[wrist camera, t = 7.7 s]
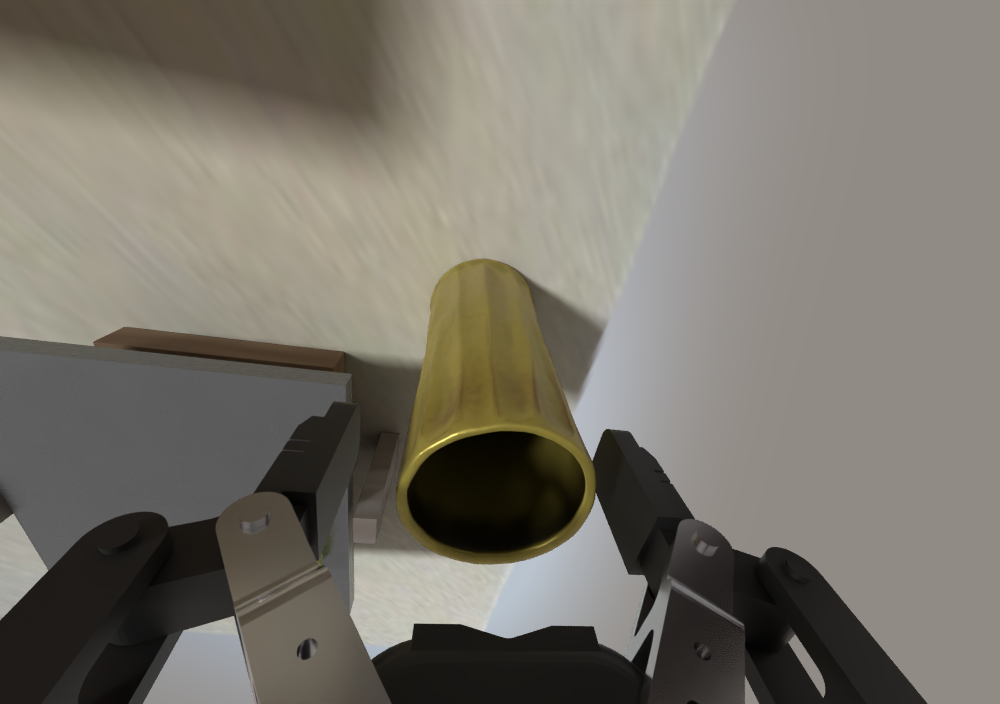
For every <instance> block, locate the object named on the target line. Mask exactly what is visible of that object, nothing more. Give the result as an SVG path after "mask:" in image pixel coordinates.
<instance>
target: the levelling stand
mask: <svg viewBox="0 0 1000 704" xmlns="http://www.w3.org/2000/svg"><path fill="white" fill-rule="evenodd" d="M93 343H94V346H95V347H104V348H113V349H123V350H132V351H141V352H151V353H160V354H169V355H179V356H188V357H197V358H207V359H216V360H226V361H235V362H244V363H254V364H263V365H272V366H282V367H291V368H300V369H310V370H319V371H328V372H338V373H344V352H339V351H330V350H322V349H313V348H304V347H296V346H287V345H278V344H269V343H261V342H252V341H243V340H235V339H226V338H217V337H208V336H200V335H191V334H182V333H174V332H165V331H156V330H147V329H139V328H130V327H123V328H121V329H119V330H117V331H115V332H113V333H111V334H109V335H107V336H105V337H103V338H100V339H98V340H96V341H94V342H93ZM398 440H399V434H395V433H384V432H381V435H380V438H379V441H378V444H377V447H376V450H375V453H374V456H373V459H372V462H371V465H370V468H369V471H368V474H367V477H366V481H365V484H364V487H363V490H362V493H361V496H360V499H359V502H358V505H357V508H356V511H355V514H354V517H353V543H366V544H376V541H377V537H378V533H379V529H380V525H381V520H382V516H383V512H384V508H385V504H386V500H387V496H388V492H389V488H390V484H391V480H392V476H393V472H394V468H395V464H396V460H397V456H398ZM12 514H13V512H12V510H11V508H10V507H9V505H8V503H7V502H6V500H5V499H4V497H3V495H2V494H1V492H0V523H1V522H3V521H4V520H5V519H6V518H8V517H9V516H10V515H12Z"/></svg>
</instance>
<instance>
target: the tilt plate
mask: <svg viewBox="0 0 1000 704" xmlns="http://www.w3.org/2000/svg"><path fill="white" fill-rule="evenodd" d="M334 401H340V402H350V403H352V374H347V373H338V372H328V371H319V370H310V369H300V368H291V367H282V366H272V365H263V364H254V363H244V362H235V361H226V360H216V359H207V358H197V357H188V356H179V355H169V354H160V353H151V352H141V351H132V350H123V349H113V348H104V347H95V346H85V345H76V344H67V343H57V342H48V341H39V340H29V339H20V338H11V337H1V336H0V492H1V494H2V495H3V497H4V499H5V500H6V502H7V503H8V505H9V507H10V508H11V510H12V512H13V513H14V515H15V516H16V518H17V520H18V521H19V523H20V525H21V526H22V528H23V529H24V531H25V533H26V534H27V536H28V538H29V539H30V541H31V543H32V544H33V546H34V547H35V549H36V551H37V552H38V554H39V556H40V557H41V559H42V560H43V562H44V564H45V565H46V567H47V569H48V570H50V569H51V568H52V567H53V566H54V565H55V564H56V563H57V561H58V560H59V559H60V558H61V557H62V556H63V555H64V554H65V553H66V552H67V551H68V550H69V549H70V548H71V547H72V546H73V545H74V544H75V543H76V542H77V541H78V540H79V539H80V538H81V537H82V536H83V535H85V534H86V533H87V532H89V531H90V530H92V529H93V528H95V527H96V526H98V525H100V524H102V523H104V522H106V521H108V520H111V519H113V518H115V517H118V516H121V515H125V514H129V513H134V512H145V511H146V512H154V513H158V514H160V515H162V516H163V517H165V518H166V520H167V522H168V526H169V527H170V526H176V525H181V524H186V523H192V522H197V521H202V520H207V519H212V518H215V517H218V516H220V515H221V513H222V512H223V511H224V510H225V509H226V508H227V507H228V506H230V505H231V504H232V503H234V502H235V501H237V500H239V499H241V498H243V497H245V496H248V495H251V494H253V493H254V491H255V490H256V488H257V487H258V485H259V484H260V482H261V481H262V479H263V478H264V476H265V475H266V473H267V472H268V470H269V469H270V467H271V466H272V464H273V463H274V461H275V460H276V458H277V457H278V455H279V454H280V452H282V450H283V448H284V446H285V445H286V443H287V442H288V441H289V438H290V437H291V435H292V434H293V432H294V431H295V429H296V428H297V426H298V425H300V424H301V423H303V422H304V421H306V420H307V419H308V418H310V417H311V416H321V417H324V416H325V415H326V413H327V411H328V410H329V408H330V406H331V404H332V403H333V402H334ZM317 563H318V564H319V566H320V567H321V566H323V565H325V566H326V567H327V568H328V570H329V572H330V573H331V575H332V577H333V580H334V582H335V584H336V586H337V588H338V590H339V592H340V595H341V597H342V599H343V601H344V603H345V605H346V607H347V610H348V612H349V614H350V612H351V608H352V604H353V601H354V543H353V472H352V475H351V478H350V480H349V483H348V486H347V488H346V491H345V493H344V496H343V499H342V501H341V504H340V507H339V509H338V512H337V515H336V517H335V520H334V523H333V525H332V528H331V530H330V533H329V536H328V538H327V541H326V544H325V546H324V549H323V552H322V554H321V557H320V560H319V561H317Z"/></svg>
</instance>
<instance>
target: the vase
mask: <svg viewBox="0 0 1000 704" xmlns="http://www.w3.org/2000/svg"><path fill="white" fill-rule="evenodd" d="M430 310H431V314H430V319H429V326H428V334H427V344H426V353H425V357H424V361H423V365H422V370H421V377H420V382H419V385H418V389H417V393H416V398H415V402H414V406H413V411H412V415H411V419H410V424H409V429H408V433H407V438H406V442H405V447H404V451H403V456H402V460H401V465H400V471H399V478H398V484H397V488H396V506H397V511H398V514H399V518H400V520H401V522H402V524H403V526H404V527H405V528H406V530H407V531H408V532H409V533H410V534H411V535H412V536H413V537H414V538H415V539H416V540H417V541H418V542H419V543H421V544H422V545H423V546H425V547H426V548H428V549H429V550H431V551H433V552H435V553H437V554H439V555H442V556H445V557H448V558H451V559H454V560H458V561H462V562H468V563H473V564H504V563H514V562H519V561H524V560H527V559H531V558H534V557H537V556H539V555H542V554H544V553H547V552H549V551H551V550H553V549H554V548H556V547H558V546H559V545H561V544H562V543H564V542H566V541H567V540H569V539H570V538H571V537H572V536H574V534H575V533H576V532H577V531H578V530H579V529H580V528H581V526H582V525H583V523H584V522H585V520H586V519H587V517H588V515H589V514H590V512H591V509H592V507H593V504H594V500H595V493H596V474H595V469H594V465H593V462H592V460H591V458H590V456H589V454H588V452H587V449H586V447H585V445H584V443H583V441H582V438H581V436H580V434H579V432H578V429H577V427H576V424H575V422H574V419H573V417H572V414H571V412H570V409H569V406H568V403H567V400H566V397H565V395H564V392H563V389H562V387H561V384H560V381H559V378H558V376H557V373H556V370H555V367H554V365H553V362H552V360H551V357H550V354H549V352H548V350H547V347H546V345H545V342H544V340H543V336H542V333H541V330H540V327H539V324H538V321H537V316H536V312H535V309H534V302H533V297H532V294H531V291H530V288H529V286H528V285H527V283H526V281H525V280H524V279H523V278H522V276H521V275H520V274H519V273H518V272H517V271H515V270H514V269H513V268H511V267H510V266H508V265H506V264H504V263H501V262H498V261H494V260H489V259H476V260H471V261H467V262H464V263H461V264H458V265H457V266H455V267H453V268H452V269H450V270H449V271H448V272H447V273H445V274H444V275H443V276H442V277H441V279H440V280H439V281H438V283H437V285H436V287H435V289H434V291H433V294H432V298H431V304H430Z"/></svg>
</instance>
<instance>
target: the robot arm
mask: <svg viewBox="0 0 1000 704" xmlns="http://www.w3.org/2000/svg"><path fill="white" fill-rule="evenodd" d="M360 415H361V407H360V404H359V403H350V402H340V401H334V402H333V403H332V404H331V406H330V408H329V410H328V411H327V413H326V415H325V416H324V417H321V416H311V417H310V418H308V419H307V420H306V421H304V422H303V423H301V424H300V425H298V426H297V428H296V429H295V431H294V432H293V434H292V435H291V437H290V438H289V441H288V442H287V443H286V445H285V446H284V448H283V450H282V452H280V454H279V455H278V457H277V458H276V460H275V461H274V463H273V464H272V466H271V467H270V469H269V470H268V472H267V473H266V475H265V476H264V478H263V479H262V481H261V482H260V484H259V485H258V487H257V488H256V490H255V491H254V493H253V494H251V495H248V496H245V497H243V498H241V499H239V500H237V501H235V502H234V503H232V504H231V505H230V506H228V507H227V508H226V509H225V510H224V511H223V512H222V513H221V515H220V516H218V517H215V518H212V519H207V520H202V521H197V522H192V523H186V524H181V525H176V526H170V527H169V526H168V522H167V520H166V518H165V517H163V516H162V515H160V514H158V513H154V512H146V511H145V512H134V513H129V514H125V515H121V516H118V517H115V518H113V519H111V520H108V521H106V522H104V523H102V524H100V525H98V526H96V527H95V528H93V529H92V530H90V531H89V532H87V533H86V534H85V535H83V536H82V537H81V538H80V539H79V540H78V541H77V542H76V543H75V544H74V545H73V546H72V547H71V548H70V549H69V550H68V551H67V552H66V553H65V554H64V555H63V556H62V557H61V558H60V559H59V560H58V561H57V563H56V564H55V565H54V566H53V567H52V568H51V569H50V570H49V571H48V572H47V573H46V574H45V575H44V576H43V577H42V578H41V579H40V580H39V581H38V582H37V583H36V584H35V585H34V586H33V587H32V588H31V589H30V590H29V591H28V592H27V594H26V595H25V596H24V597H23V598H22V599H21V600H20V601H19V602H18V603H17V604H16V605H15V606H14V607H13V608H12V609H11V610H10V611H9V612H8V613H7V614H6V615H5V616H4V617H3V618H2V619H1V620H0V704H143V702H144V700H145V698H146V697H147V695H148V693H149V691H150V689H151V688H152V686H153V684H154V682H155V680H156V678H157V677H158V675H159V673H160V671H161V669H162V668H163V666H164V664H165V662H166V660H167V659H168V657H169V655H170V653H171V651H172V650H173V648H174V646H175V644H176V642H177V641H178V639H179V637H180V635H181V633H182V632H183V630H186V629H190V628H193V627H197V626H200V625H203V624H207V623H210V622H214V621H217V620H221V619H224V618H228V617H231V616H234V618H235V623H236V627H237V631H238V635H239V639H240V643H241V647H242V651H243V655H244V660H245V664H246V668H247V672H248V676H249V680H250V684H251V688H252V693H253V697H254V702H255V704H745V676H746V678H747V680H748V682H749V684H750V686H751V688H752V690H753V692H754V694H755V696H756V698H757V700H758V702H759V704H927V703H926V701H925V700H924V699H923V698H922V697H921V695H920V694H919V693H918V692H917V690H916V689H915V688H914V687H913V686H912V684H911V683H910V682H909V681H908V680H907V678H906V677H905V676H904V675H903V673H902V672H901V671H900V670H899V669H898V667H897V666H896V665H895V664H894V662H893V661H892V660H891V659H890V658H889V656H888V655H887V654H886V653H885V652H884V650H883V649H882V648H881V647H880V646H879V644H878V643H877V642H876V641H875V640H874V638H873V637H872V636H871V635H870V633H869V632H868V631H867V630H866V628H865V627H864V626H863V625H862V624H861V622H860V621H859V620H858V619H857V618H856V616H855V615H854V614H853V613H852V612H851V610H850V609H849V608H848V607H847V605H846V604H845V603H844V602H843V601H842V599H841V598H840V597H839V596H838V594H837V593H836V592H835V591H834V590H833V588H832V587H831V586H830V585H829V584H828V582H827V581H826V580H825V579H824V577H823V576H822V575H821V574H820V573H819V572H818V571H817V570H816V569H815V568H814V567H813V566H812V565H811V564H810V563H809V562H807V561H806V560H805V559H803V558H802V557H800V556H798V555H797V554H795V553H793V552H791V551H789V550H787V549H783V548H778V547H771V548H769V549H767V551H766V552H765V553H764V555H763V556H762V557H761V558H758V557H755V556H752V555H750V554H746V553H744V552H740V551H738V550H734V549H732V547H731V545H730V543H729V542H728V541H727V539H726V538H725V537H724V536H723V535H722V534H721V533H720V532H719V531H717V530H716V529H715V528H713V527H712V526H710V525H708V524H706V523H704V522H702V521H699V520H695V518H694V517H693V515H692V514H691V512H690V511H689V509H688V508H687V506H686V504H685V503H684V502H683V500H682V498H681V497H680V495H679V494H678V492H677V491H676V489H675V488H674V486H673V485H672V484H670V480H669V478H668V477H667V475H666V474H664V471H663V469H662V468H661V466H660V465H659V464H658V462H657V460H656V459H655V458H654V457H653V456H652V455H651V454H650V453H649V452H647V451H646V450H645V449H644V448H642V447H639V446H638V444H637V442H636V441H635V439H634V438H633V436H632V434H631V433H630V432H628V431H620V430H610V429H606V430H605V431H604V432H603V434H602V437H601V440H600V442H599V445H598V448H597V450H596V453H595V456H594V458H593V461H592V462H593V465H594V469H595V474H596V494H597V496H598V499H599V501H600V504H601V506H602V509H603V511H604V514H605V516H606V519H607V521H608V524H609V526H610V529H611V531H612V534H613V537H614V539H615V541H616V544H617V546H618V549H619V552H620V554H621V556H622V559H623V561H624V564H625V566H626V569H627V572H628V574H630V575H645V577H646V580H647V583H646V585H645V587H644V589H643V593H642V596H641V600H640V603H639V607H638V610H637V614H636V618H635V621H634V625H633V628H632V632H631V636H630V639H629V643H628V646H627V649H626V651H625V654H624V656H622V655H621V654H619V653H618V652H616V651H614V650H612V649H610V648H608V647H606V646H604V645H602V644H598V641H597V637H596V634H595V630H594V627H592V626H588V627H587V626H550V627H547V628H543V629H540V630H537V631H534V632H530V633H527V634H524V635H521V636H517V637H514V638H503V637H499V636H496V635H493V634H490V633H487V632H483V631H480V630H477V629H474V628H471V627H467V626H464V625H461V624H414V628H413V635H412V640H408V641H405V642H402V643H399V644H397V645H395V646H393V647H390V648H388V649H387V650H385V651H383V652H382V653H380V654H378V655H377V656H376V657H374V658H373V659H372V660H371V659H370V657H369V655H368V652H367V650H366V648H365V646H364V644H363V642H362V639H361V637H360V635H359V633H358V631H357V629H356V627H355V624H354V622H353V620H352V618H351V616H350V614H349V612H348V610H347V607H346V605H345V603H344V601H343V599H342V597H341V595H340V592H339V590H338V588H337V586H336V584H335V582H334V580H333V577H332V575H331V573H330V572H329V570H328V568H327V567H326V566H325V565H323V566H321V567H320V566H319V564H318V563H317V561H319V560H320V557H321V554H322V552H323V549H324V546H325V544H326V541H327V538H328V536H329V533H330V530H331V528H332V525H333V523H334V520H335V517H336V515H337V512H338V509H339V507H340V504H341V501H342V499H343V496H344V493H345V491H346V488H347V486H348V483H349V480H350V478H351V475H352V472H353V470H354V467H355V464H356V461H357V458H358V453H359V447H360ZM795 634H796V636H797V637H798V639H799V640H800V642H801V643H802V645H803V646H804V648H805V649H806V650H807V652H808V654H809V655H810V657H811V658H812V660H813V661H814V663H815V664H816V666H817V667H818V669H819V671H820V672H821V674H822V677H823V679H824V683H825V691H826V692H825V696H824V698H823V697H822V696H821V694H820V692H819V691H818V690H817V688H816V686H815V684H814V683H813V681H812V680H811V678H810V677H809V675H808V673H807V672H806V670H805V669H804V667H803V666H802V664H801V662H800V661H799V659H798V658H797V656H796V654H795V653H794V651H793V650H792V648H791V647H790V645H789V643H788V642H789V641H790V639H791V638H792V637H793V636H794V635H795Z"/></svg>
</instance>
